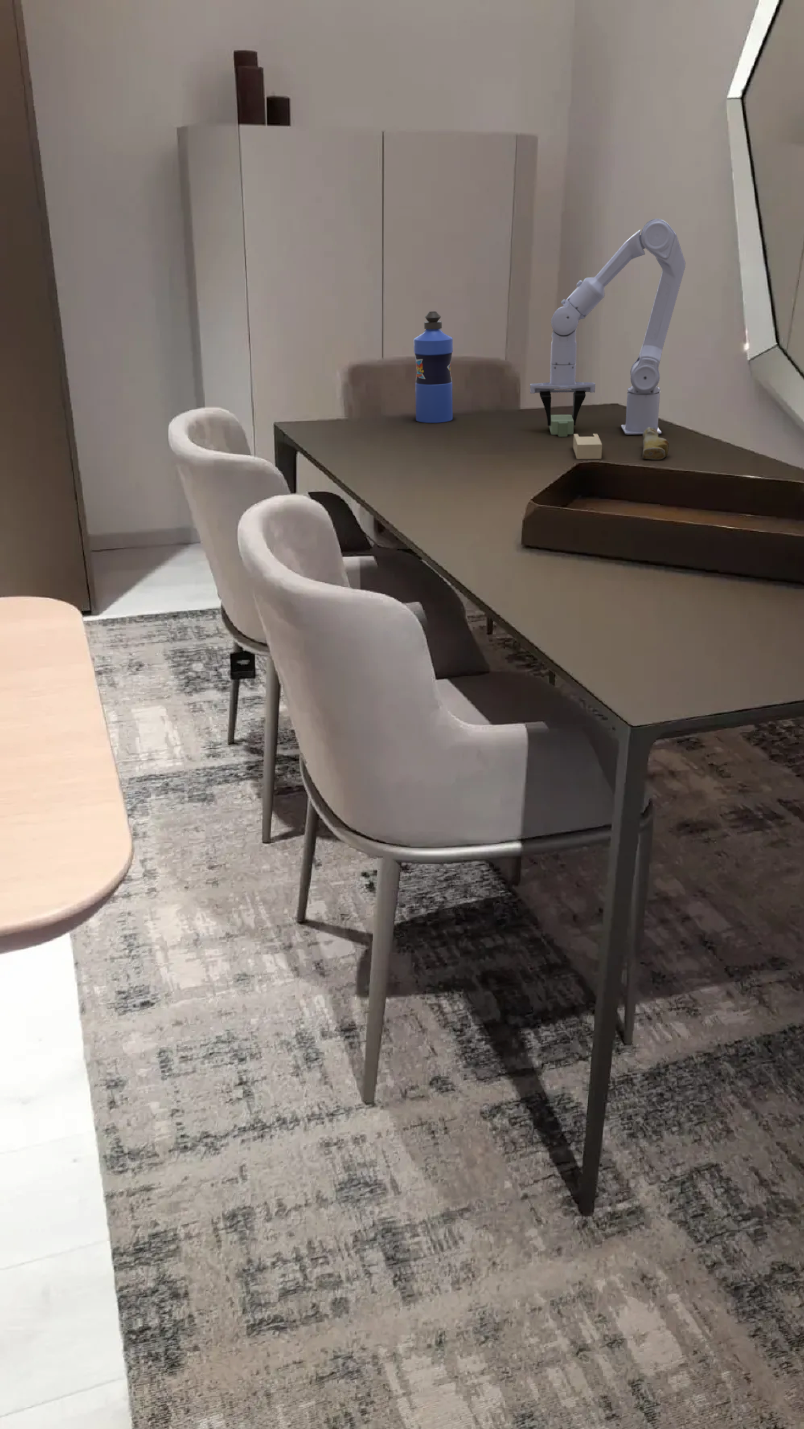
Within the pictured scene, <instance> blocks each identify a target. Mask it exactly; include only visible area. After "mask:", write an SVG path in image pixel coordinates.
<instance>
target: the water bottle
mask: <svg viewBox="0 0 804 1429" xmlns="http://www.w3.org/2000/svg"><path fill="white" fill-rule="evenodd" d="M441 318H442V316H441V315H440V314H439V313H438V311H434V310H433V311H428V313H427V314H426V315H425V316H424V319H425V320H426V321H423V330H424V332H423V333H421V334H419V335H418V336H416V337H415V338H413V353H414V358H415V367H416V375H415V384H414V385H415V388H414V390H415V391H414V392H415V393H414V394H415V421H417V422H418V423H425V424H426V423H428V424H439V423H446V422H447V423H448V422H450V421H452V420H453V419H454V418H453V417H454V416H453V410H454V408H453V378H452V371H451V368H452V357H453V352H454V344H453V343H454V339H453V337H452V336H450V335H448V334H446V333H444V332H443V331H442V328H443V322H442V321H441V320H440V319H441Z"/></svg>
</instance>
